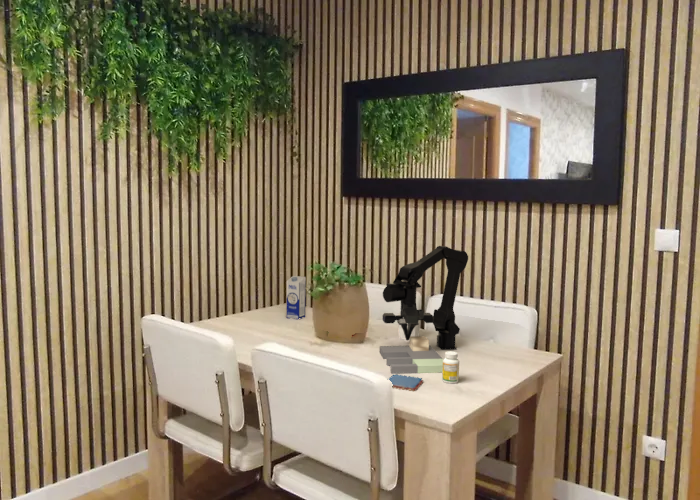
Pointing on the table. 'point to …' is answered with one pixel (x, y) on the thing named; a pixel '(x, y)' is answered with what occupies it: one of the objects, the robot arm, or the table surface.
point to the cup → (401, 332)
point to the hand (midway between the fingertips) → (407, 340)
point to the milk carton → (296, 297)
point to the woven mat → (405, 382)
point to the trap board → (411, 360)
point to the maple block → (419, 343)
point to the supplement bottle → (450, 368)
